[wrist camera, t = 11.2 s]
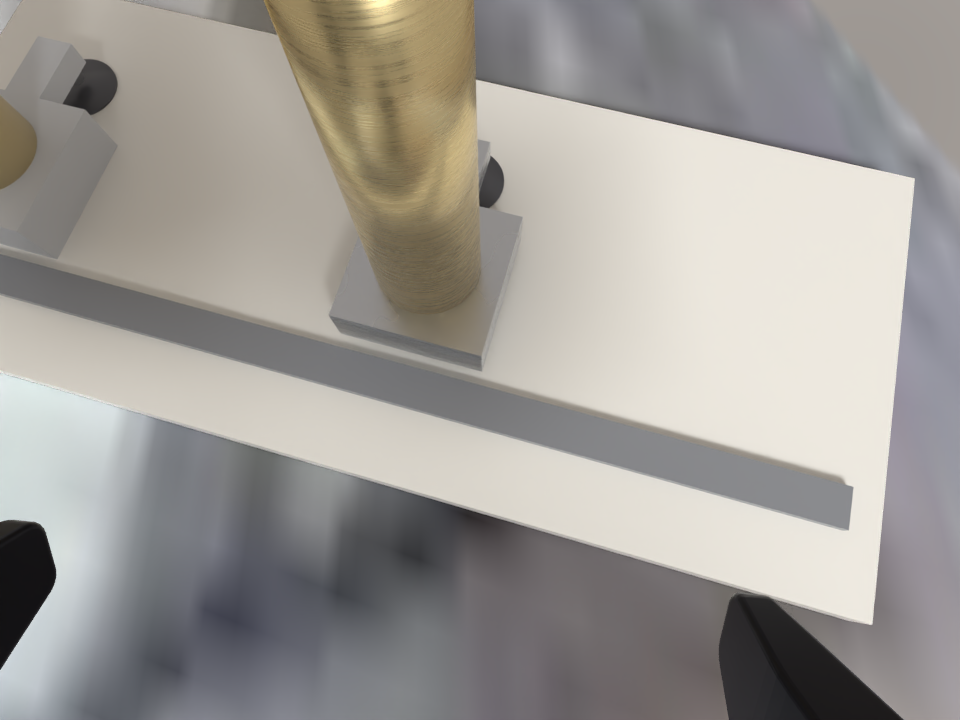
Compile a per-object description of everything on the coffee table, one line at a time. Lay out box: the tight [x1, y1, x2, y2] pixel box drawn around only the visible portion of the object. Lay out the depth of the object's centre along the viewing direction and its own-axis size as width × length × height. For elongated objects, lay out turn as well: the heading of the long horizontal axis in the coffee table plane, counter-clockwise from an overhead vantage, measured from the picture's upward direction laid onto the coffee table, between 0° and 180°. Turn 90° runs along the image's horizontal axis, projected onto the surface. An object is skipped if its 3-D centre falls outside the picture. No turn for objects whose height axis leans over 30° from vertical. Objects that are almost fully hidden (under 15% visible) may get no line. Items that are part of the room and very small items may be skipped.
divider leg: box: [264, 0, 523, 372], centre depth 13 cm, size 7×4×14 cm
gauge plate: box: [0, 0, 915, 625], centre depth 14 cm, size 14×32×15 cm, turn 74°
